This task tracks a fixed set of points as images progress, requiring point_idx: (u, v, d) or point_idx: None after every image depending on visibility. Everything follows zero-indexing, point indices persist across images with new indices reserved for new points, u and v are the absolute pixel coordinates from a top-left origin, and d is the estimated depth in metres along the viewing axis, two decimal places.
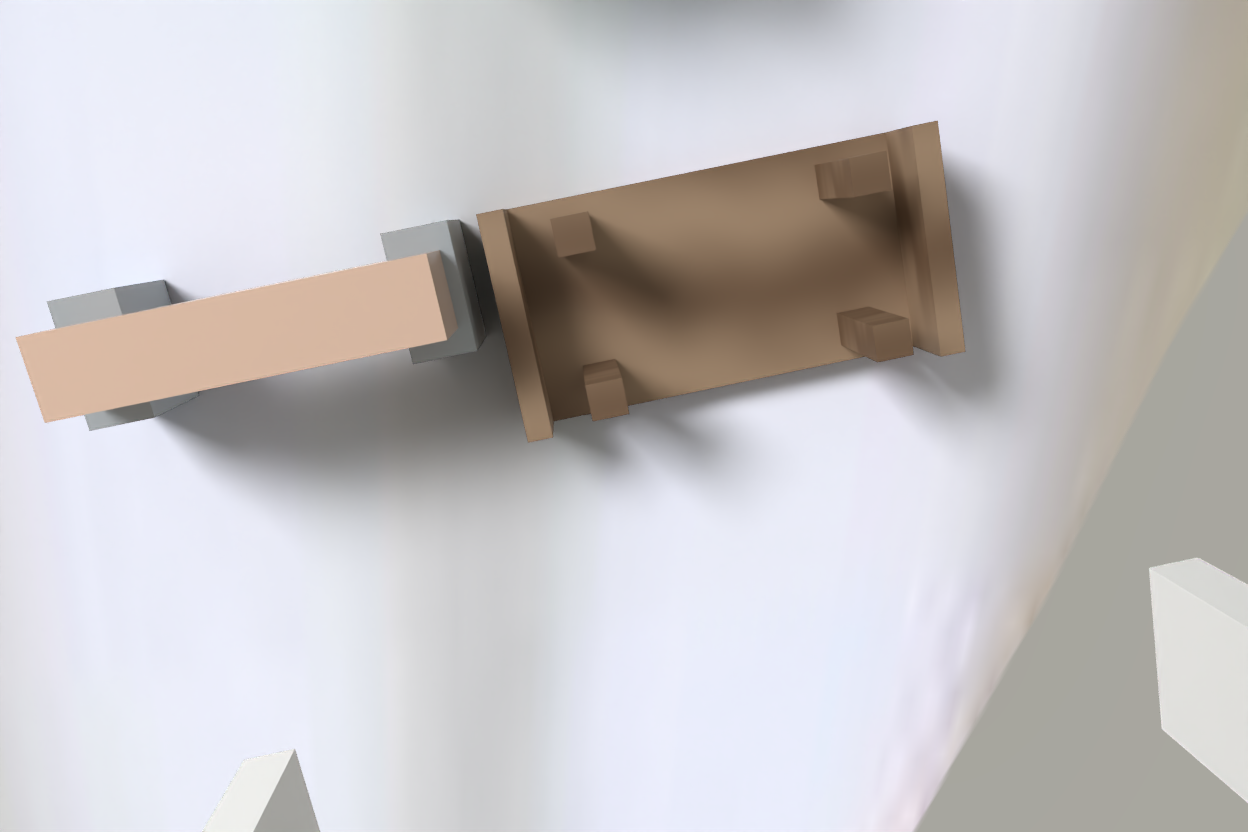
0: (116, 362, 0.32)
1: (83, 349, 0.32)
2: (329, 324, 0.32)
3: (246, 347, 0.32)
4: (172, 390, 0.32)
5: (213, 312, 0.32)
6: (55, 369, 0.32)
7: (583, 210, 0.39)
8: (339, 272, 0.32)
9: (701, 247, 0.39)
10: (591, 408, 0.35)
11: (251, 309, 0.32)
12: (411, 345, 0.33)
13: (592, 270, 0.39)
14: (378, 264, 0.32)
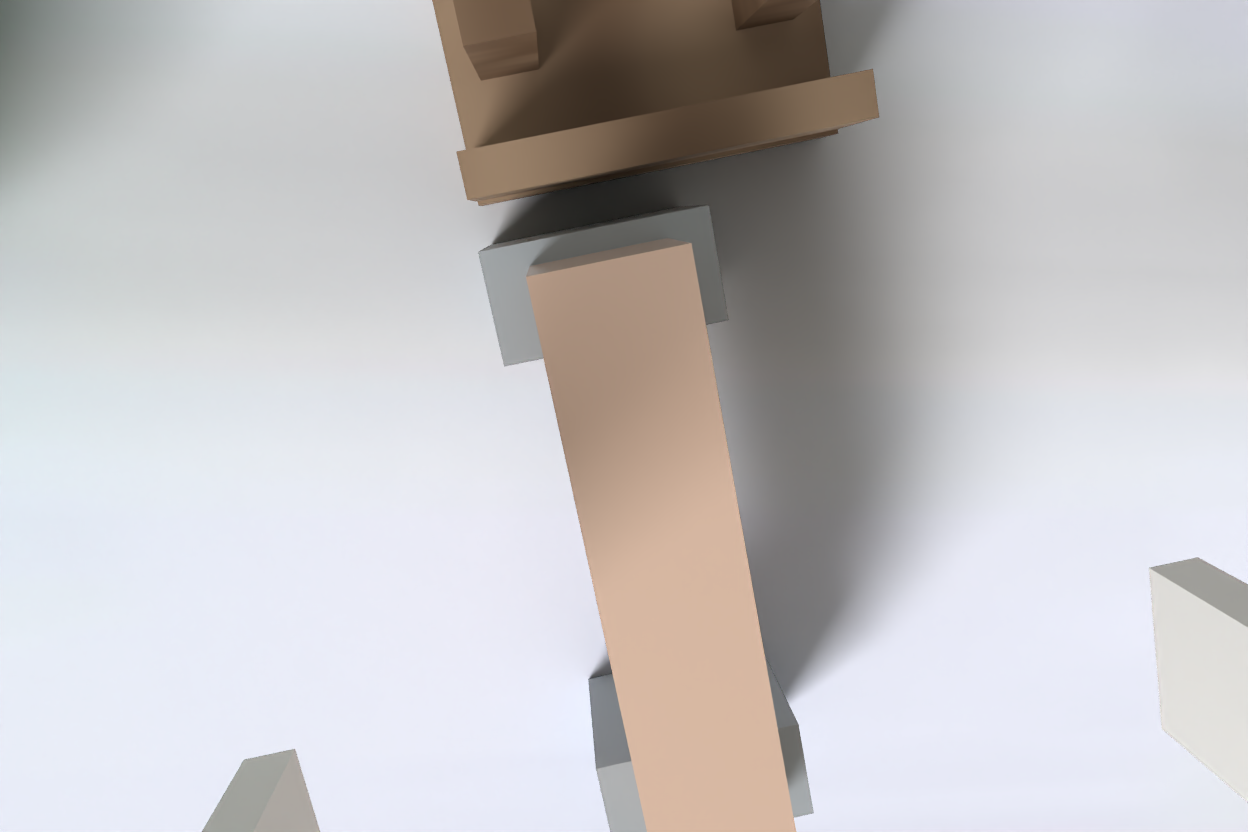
0: (716, 800, 0.19)
1: None
2: (657, 458, 0.18)
3: (694, 600, 0.18)
4: (765, 719, 0.19)
5: (633, 649, 0.18)
6: None
7: None
8: (562, 437, 0.17)
9: None
10: None
11: (628, 589, 0.18)
12: (699, 311, 0.17)
13: (568, 7, 0.22)
14: (547, 367, 0.17)
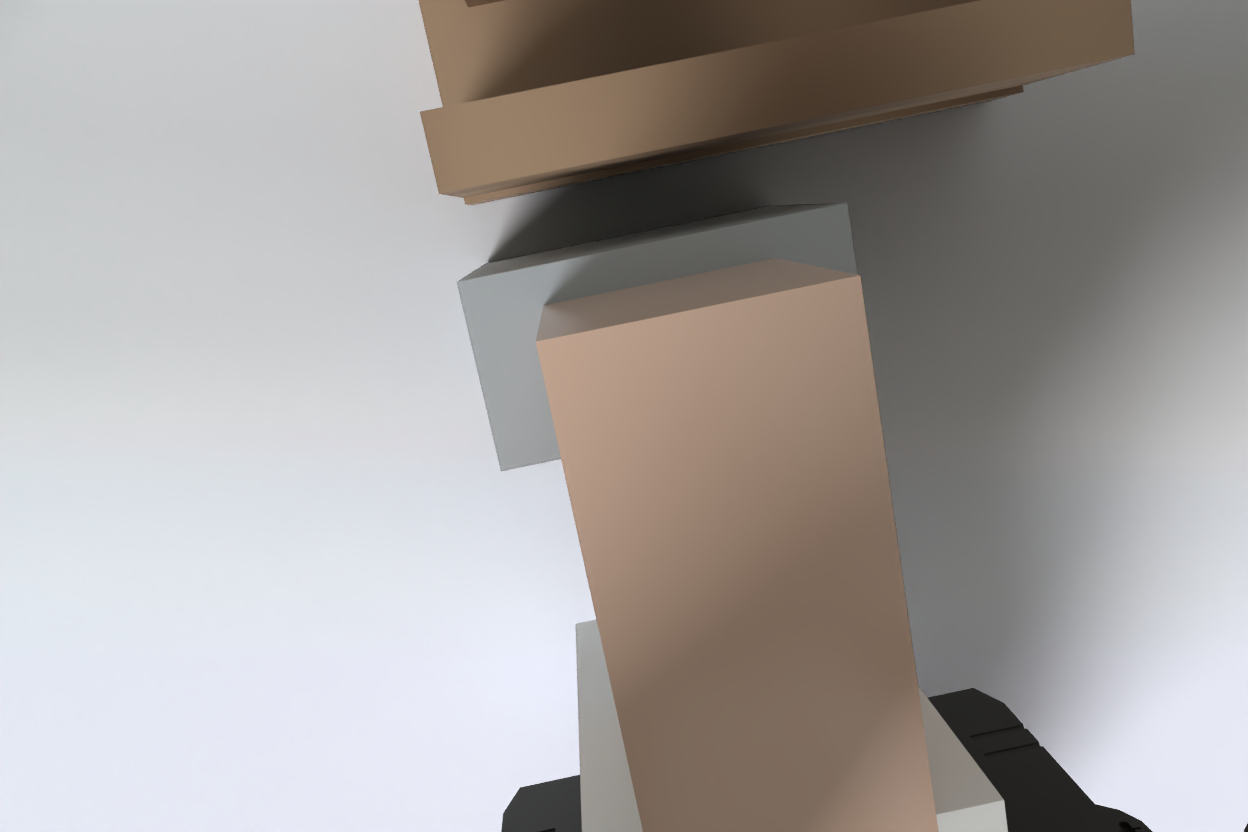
0: None
1: None
2: (782, 677, 0.09)
3: None
4: None
5: None
6: None
7: None
8: (605, 642, 0.09)
9: None
10: None
11: None
12: (871, 407, 0.09)
13: None
14: (577, 511, 0.09)
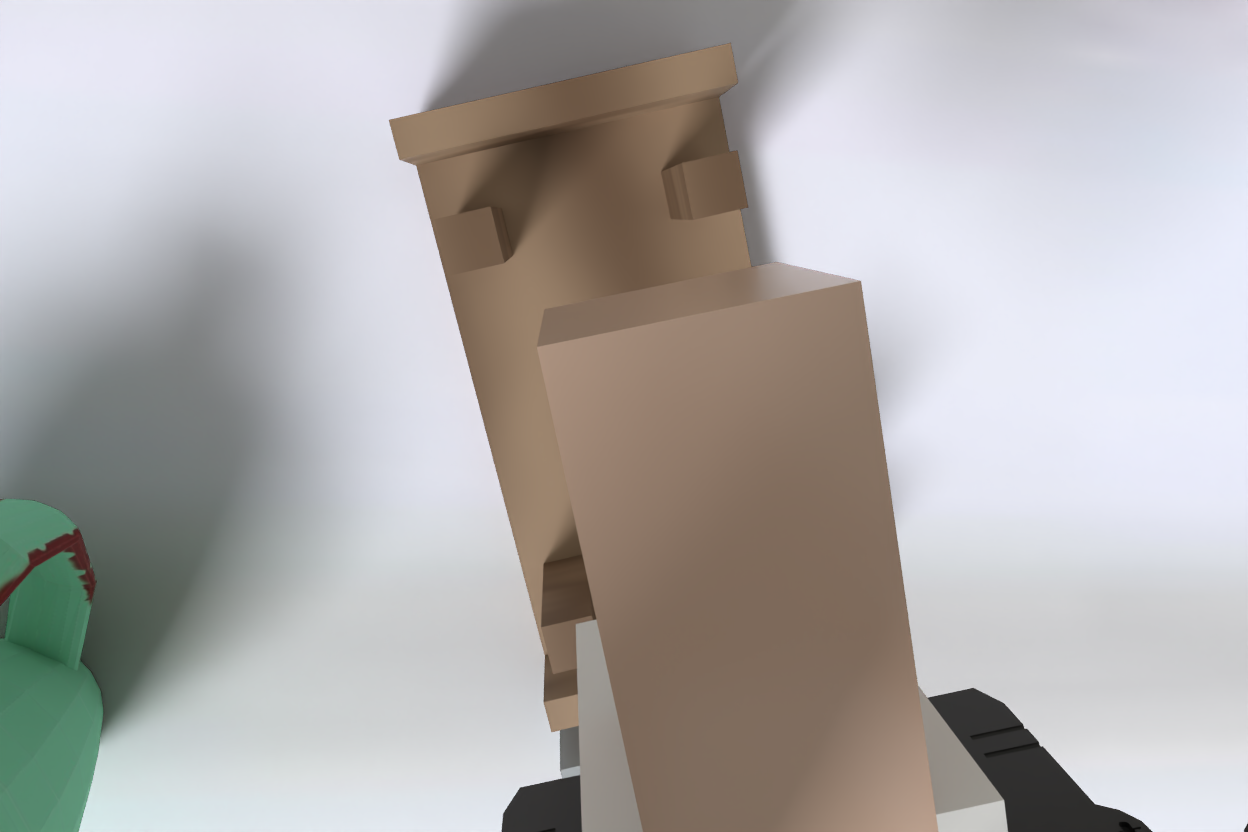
0: None
1: None
2: (783, 681, 0.09)
3: None
4: None
5: None
6: None
7: (542, 565, 0.30)
8: (606, 646, 0.09)
9: None
10: None
11: None
12: (872, 412, 0.09)
13: None
14: (578, 516, 0.09)
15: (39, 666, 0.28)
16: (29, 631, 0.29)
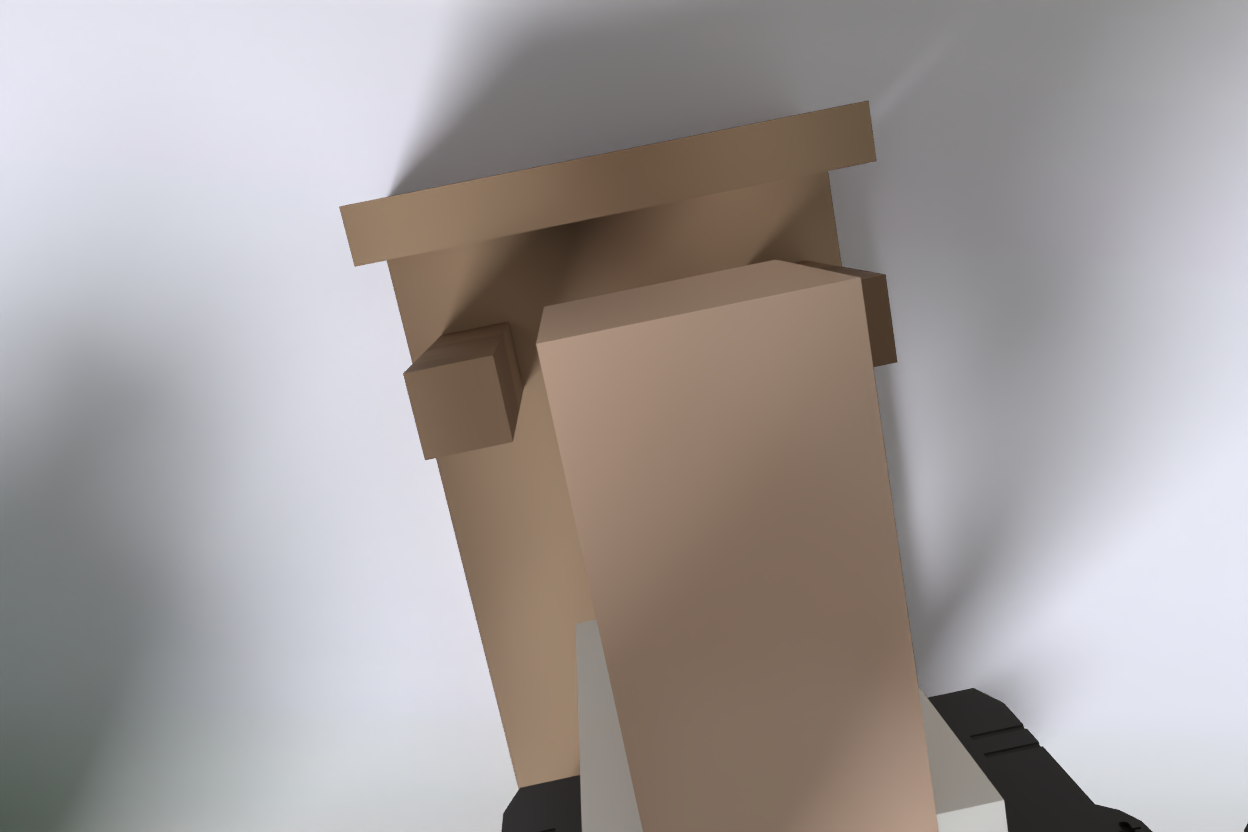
0: None
1: None
2: (783, 679, 0.09)
3: None
4: None
5: None
6: None
7: None
8: (605, 644, 0.09)
9: None
10: None
11: None
12: (872, 409, 0.09)
13: None
14: (577, 513, 0.09)
15: None
16: None
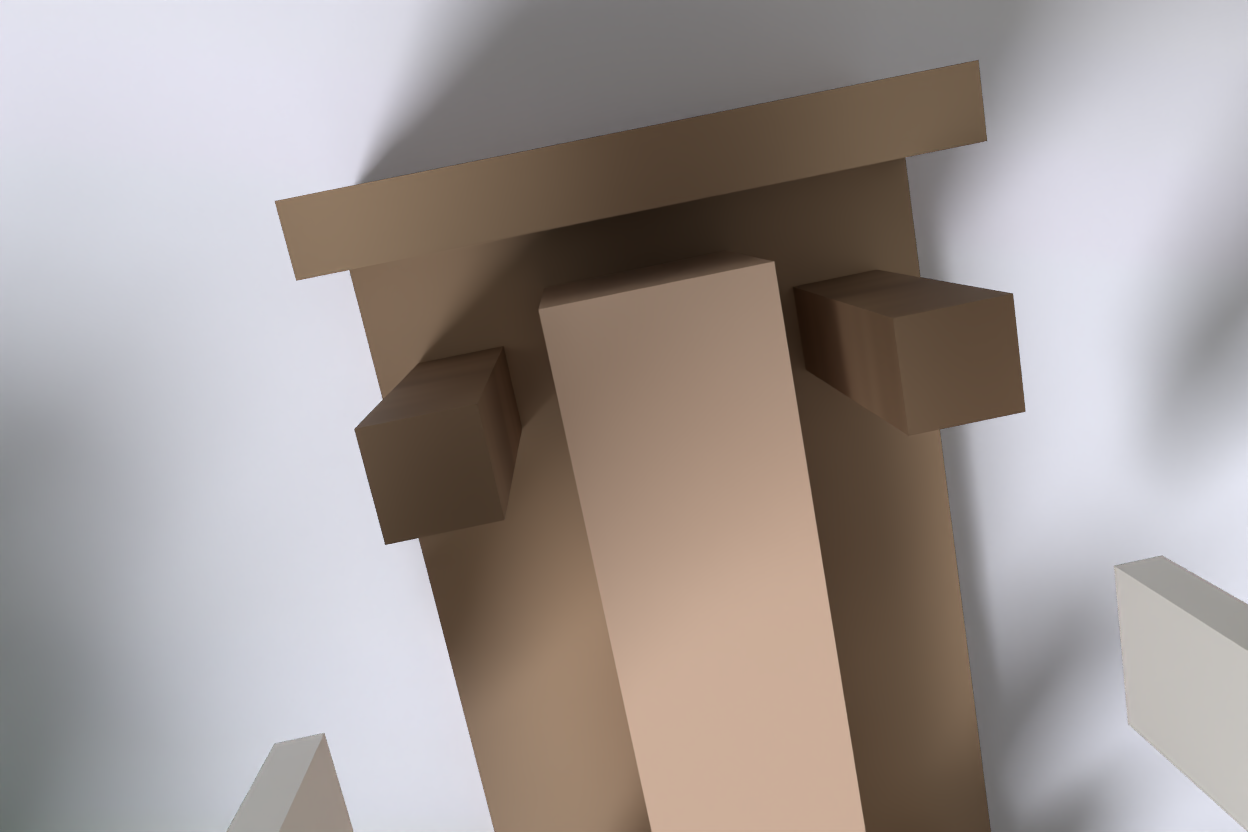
0: None
1: None
2: (721, 561, 0.13)
3: (769, 753, 0.13)
4: None
5: (684, 818, 0.13)
6: None
7: None
8: (589, 533, 0.12)
9: None
10: None
11: (679, 738, 0.13)
12: (784, 358, 0.12)
13: None
14: (568, 435, 0.12)
15: None
16: None
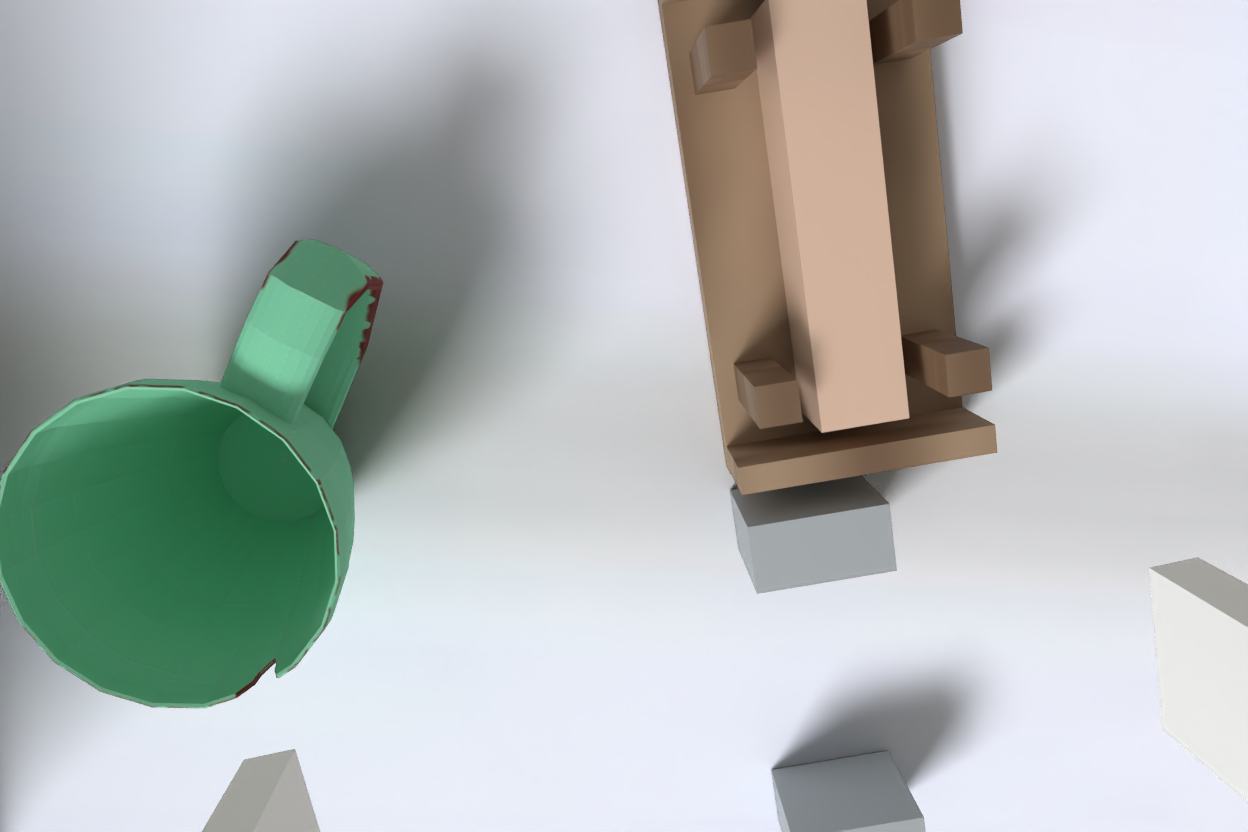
0: (856, 340, 0.31)
1: (840, 370, 0.32)
2: (835, 112, 0.30)
3: (851, 206, 0.31)
4: (889, 288, 0.31)
5: (813, 235, 0.31)
6: (857, 400, 0.32)
7: (732, 365, 0.35)
8: (781, 96, 0.30)
9: None
10: (976, 391, 0.31)
11: (813, 196, 0.30)
12: (866, 22, 0.29)
13: None
14: (775, 52, 0.30)
15: (314, 412, 0.34)
16: None
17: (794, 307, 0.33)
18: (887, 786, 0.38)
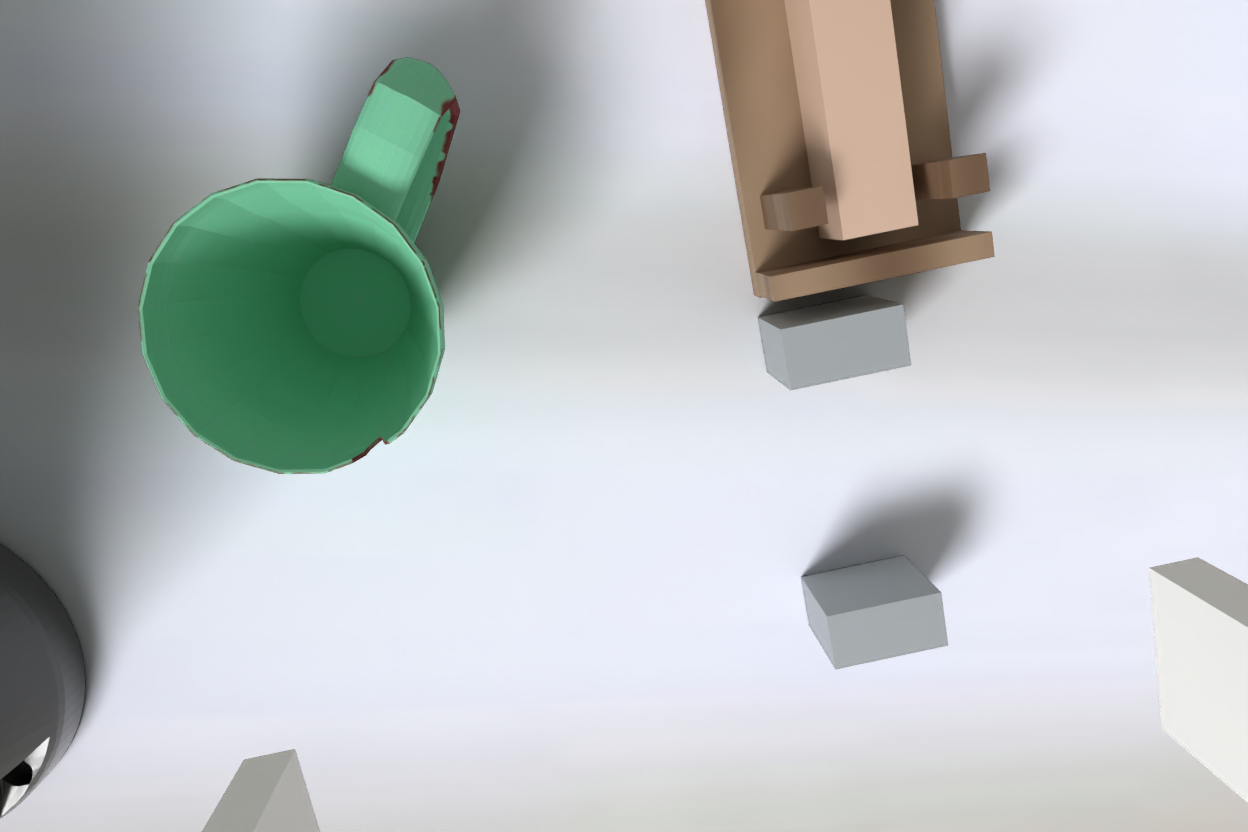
0: (870, 155, 0.36)
1: (857, 183, 0.36)
2: None
3: (863, 35, 0.35)
4: (898, 108, 0.36)
5: (831, 62, 0.35)
6: (872, 209, 0.37)
7: (758, 197, 0.40)
8: None
9: None
10: (976, 192, 0.35)
11: (830, 26, 0.35)
12: None
13: None
14: None
15: None
16: None
17: (813, 137, 0.38)
18: (906, 576, 0.42)
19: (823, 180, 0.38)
